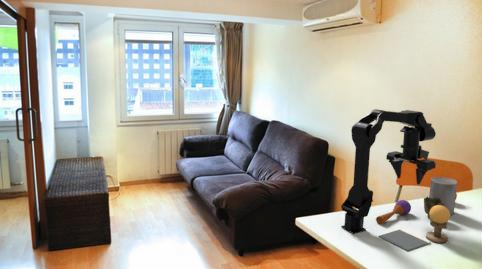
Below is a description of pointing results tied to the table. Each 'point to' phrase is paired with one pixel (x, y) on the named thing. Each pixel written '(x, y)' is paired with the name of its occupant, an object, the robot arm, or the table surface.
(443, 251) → the table surface
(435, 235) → the ball tee
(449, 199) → the pillar candle
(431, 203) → the cup
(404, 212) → the kendama
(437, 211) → the rubber ball
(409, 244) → the mat
